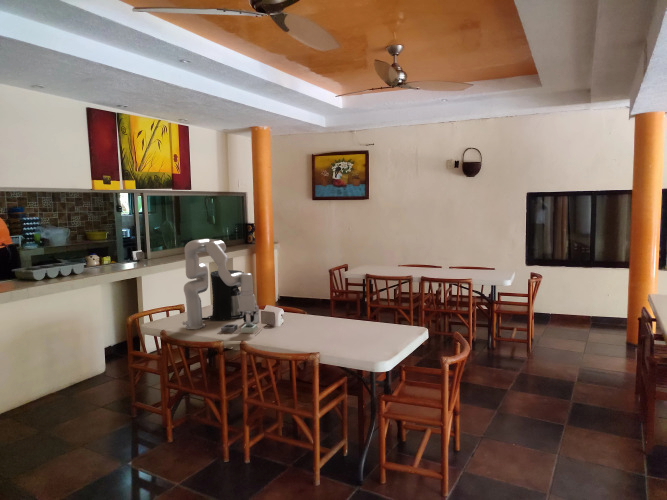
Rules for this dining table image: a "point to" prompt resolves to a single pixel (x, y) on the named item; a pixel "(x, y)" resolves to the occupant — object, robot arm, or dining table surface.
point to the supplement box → (255, 316)
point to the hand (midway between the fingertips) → (248, 321)
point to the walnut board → (233, 329)
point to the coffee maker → (224, 299)
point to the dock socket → (249, 329)
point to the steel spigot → (248, 319)
